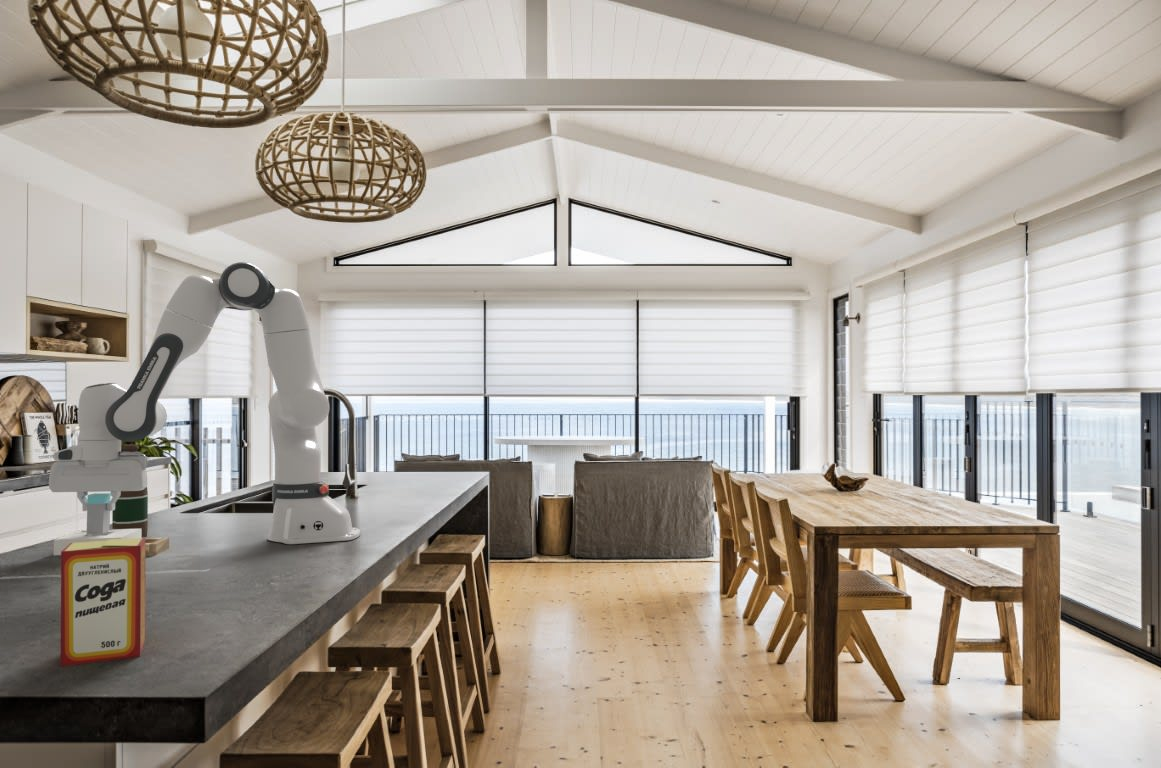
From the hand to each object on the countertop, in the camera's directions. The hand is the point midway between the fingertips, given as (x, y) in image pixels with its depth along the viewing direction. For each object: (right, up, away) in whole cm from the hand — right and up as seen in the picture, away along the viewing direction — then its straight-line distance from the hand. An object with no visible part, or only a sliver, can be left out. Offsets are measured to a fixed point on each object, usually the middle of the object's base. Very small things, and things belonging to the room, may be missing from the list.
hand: (98, 510), depth 181 cm
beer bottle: (-1, -10, +15) cm, 18 cm away
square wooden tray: (+13, -9, -4) cm, 16 cm away
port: (0, -10, 0) cm, 10 cm away
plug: (0, -5, 0) cm, 5 cm away
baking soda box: (+46, -9, -71) cm, 85 cm away
